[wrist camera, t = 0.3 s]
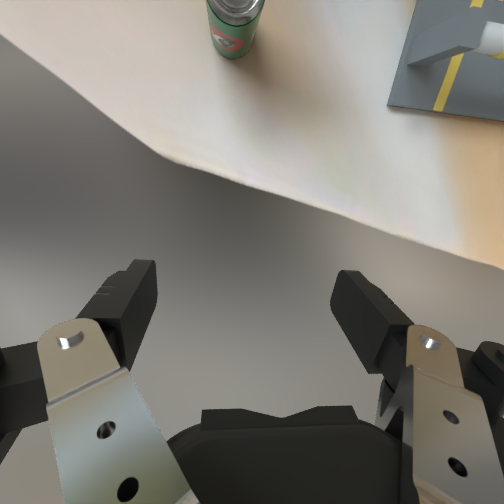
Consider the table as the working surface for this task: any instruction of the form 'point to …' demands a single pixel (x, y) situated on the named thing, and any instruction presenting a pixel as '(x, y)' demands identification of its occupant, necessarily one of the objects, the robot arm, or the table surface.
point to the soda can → (233, 25)
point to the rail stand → (453, 59)
